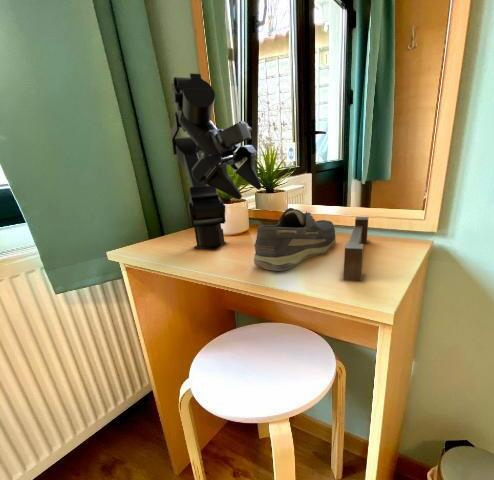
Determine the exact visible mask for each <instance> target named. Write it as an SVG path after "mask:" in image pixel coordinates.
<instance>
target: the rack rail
mask: <svg viewBox="0 0 494 480" xmlns="http://www.w3.org/2000/svg"><path fill="white" fill-rule="evenodd" d="M368 230H369V216H356V217H355V219H354V227H353V230H352V233H351V234H350V235H351V236H350V238H349V241H348V242H347V243H346V244H345V246H344V260H343V261H344V262H343V281H352V282H361V281H362V275H363V259H364V246H365V245H367V244H368Z"/></svg>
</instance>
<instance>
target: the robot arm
mask: <svg viewBox="0 0 494 480" xmlns="http://www.w3.org/2000/svg"><path fill="white" fill-rule="evenodd" d="M170 91H171V93H170V94H171V99H172V103H175V106H176V111H174V112H173V113H174V115H173V116H174V124H173V126H172V128H171V129H170V132H169V137H170V142H171V150H172V154H173V156H174V155H175V157H176V160H177V162H178V163H180V164H181V165H183V166H184V168H185V171H186V175H187V179H188V181H189V186H190V187H189V193H188V197H189V202H187V211H188V212H187V213H188V221H189V224H190V226H191V228H193V230H194V235H195V240H196V241H195V242H196V245H195V246H193V249H194V250H205V251H216V250H218V249H220V248H222V247H223V246H225V245H226V244H227V242H226V241H225V236H224V228H222V224H225V223H226V222H227V221H226V204H224V202H223V200H222V199H221V198H220V196H219V193H218V191H220V192H222V193H225V194H227V196H230V197H233V198H234V199H236V200H241V199H242V198H243V195H242V193H241V192H240V190H239V188H238V187H237V185H236V184H235V183H234V181H233V180H232V178H231V177H230V175H229V173H228V166H230V167H231V168H232V169H233V170H235V174H237V175H238V176H239V177H240V178H242V179H243V180H244V181H246V182H247V183H248V184H249V185H251V186H252V187H253V188H255V189H256V190H258V191H259V190H261V189H262V187H263V186H262V184H261V181H260V178H259V176H258V173H257V170H256V167H255V159H256V158H257V153H258V151H257V150H256V148H255V147H254V146H253V144H245V145H241V146H239V145H240V144H241V143H243V142H246V141H250V140H251V139H252V131H253V130H252V127H251V126H249V124H248V122H245V120H239V121H238V122H237V123H234V124H232V125H230V126H229V127H227V128H225V129H224V128H218V127H216V125H215V124H214V122H213V121H212V118H213V111H214V105H215V100H216V92H215V89H214V88H213V86H211V84H210V83H209V82H208V81H206V80H205V79H204V78H203V77H202V75H201V73H191V72H190V73H189V77H183V76H174V77H173V78H172V83H171V82H170ZM180 129H181V130H182V131H183V132H185V133H186V134H187V135H188V136H178V133H179V131H180ZM217 190H218V191H217Z"/></svg>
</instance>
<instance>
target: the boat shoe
mask: <svg viewBox="0 0 494 480" xmlns="http://www.w3.org/2000/svg"><path fill="white" fill-rule="evenodd" d="M256 233H257V234H256V239H255V242H254V244H253V247H254V252H255V253H254V256H253V264H254V265H255V266H256V267H258V268H262V269H265V270H268V271H270V270H271V271H273V272H283V271H286V270H290V269H292V268H295V267H296V266H297V265H299V264H301V262H303V261H305V260H306V259H308V258H312V257H316V256H321V255H323V254H326V253H328V252H329V251H330V250H332V249H333V247H334V246H335V244H336V237H337V236H336V229H335V226H334V223H333V222H332V221H330V220H325V219H324V220H323V219H321V220H315V218H314V216H313V215H312V213H311V212H308V211H305V212H303V211H301V210H299V209H296V208H292V207H289V208H287V209H286V210H284V212H283V213H281V216H280V217H279V219H278V223H277V224H263V225H262V224H261V225H258V227H257V229H256Z"/></svg>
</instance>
